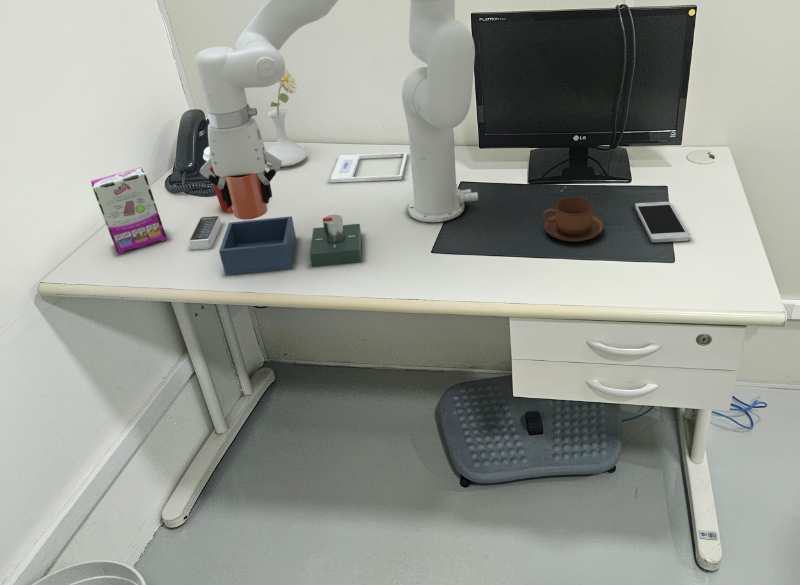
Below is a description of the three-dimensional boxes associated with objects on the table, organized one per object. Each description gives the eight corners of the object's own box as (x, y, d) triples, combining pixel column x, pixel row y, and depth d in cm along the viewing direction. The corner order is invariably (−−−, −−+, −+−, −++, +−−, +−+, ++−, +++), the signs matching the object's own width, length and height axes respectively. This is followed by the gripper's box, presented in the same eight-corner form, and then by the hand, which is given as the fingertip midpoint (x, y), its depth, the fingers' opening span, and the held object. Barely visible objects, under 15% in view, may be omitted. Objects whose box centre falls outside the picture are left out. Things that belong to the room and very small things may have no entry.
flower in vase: (289, 173, 184) (270, 78, 170) (257, 166, 190) (236, 73, 176) (320, 154, 193) (305, 62, 179) (288, 148, 199) (271, 58, 185)
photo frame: (339, 154, 188) (407, 151, 186) (340, 158, 189) (407, 155, 187) (329, 178, 176) (401, 175, 174) (330, 182, 177) (401, 179, 175)
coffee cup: (243, 215, 167) (229, 155, 158) (211, 214, 168) (195, 155, 160) (256, 199, 173) (243, 141, 165) (225, 198, 175) (210, 141, 167)
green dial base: (361, 235, 153) (359, 222, 151) (360, 262, 144) (359, 248, 142) (315, 240, 153) (313, 227, 152) (312, 266, 144) (309, 253, 142)
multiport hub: (191, 249, 155) (188, 240, 154) (202, 225, 164) (200, 217, 163) (210, 248, 155) (208, 239, 153) (221, 224, 164) (219, 215, 162)
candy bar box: (163, 231, 163) (142, 165, 154) (167, 240, 160) (146, 173, 150) (113, 246, 160) (89, 179, 150) (117, 255, 156) (92, 187, 147)
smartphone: (652, 242, 140) (652, 238, 139) (634, 206, 152) (634, 202, 152) (689, 240, 139) (690, 236, 138) (668, 205, 152) (668, 201, 151)
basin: (296, 239, 154) (291, 216, 151) (291, 268, 144) (286, 244, 141) (234, 245, 155) (228, 222, 151) (225, 275, 145) (218, 251, 141)
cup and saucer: (554, 251, 141) (555, 223, 137) (535, 223, 151) (536, 197, 147) (612, 241, 142) (615, 214, 138) (590, 214, 152) (591, 188, 148)
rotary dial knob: (345, 232, 149) (342, 212, 146) (344, 241, 145) (341, 221, 143) (326, 234, 149) (322, 214, 146) (325, 243, 145) (321, 223, 143)
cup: (269, 202, 146) (261, 162, 141) (265, 218, 141) (256, 176, 136) (237, 205, 146) (227, 165, 141) (231, 221, 141) (221, 179, 136)
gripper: (277, 105, 135) (293, 190, 145) (187, 114, 136) (209, 198, 146) (273, 119, 129) (290, 206, 139) (179, 128, 129) (202, 215, 139)
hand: (248, 201), depth 142 cm, fingers closed on cup, 6 cm apart
